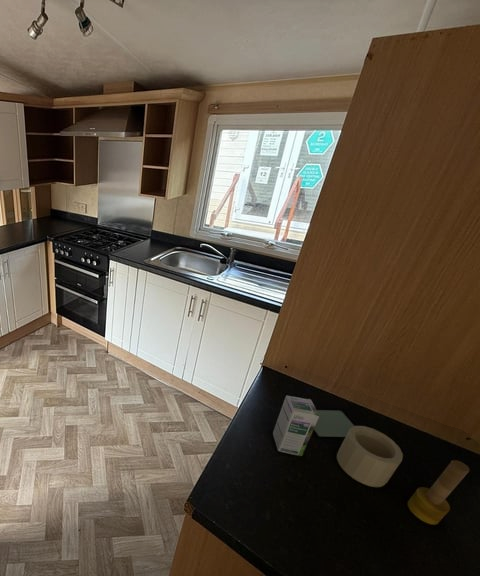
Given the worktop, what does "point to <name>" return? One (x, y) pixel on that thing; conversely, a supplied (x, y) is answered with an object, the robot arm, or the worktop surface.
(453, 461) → the sponge brush
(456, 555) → the worktop surface
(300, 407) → the syrup box
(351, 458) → the cream tape roll
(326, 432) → the grey hexagonal plate
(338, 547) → the worktop surface
